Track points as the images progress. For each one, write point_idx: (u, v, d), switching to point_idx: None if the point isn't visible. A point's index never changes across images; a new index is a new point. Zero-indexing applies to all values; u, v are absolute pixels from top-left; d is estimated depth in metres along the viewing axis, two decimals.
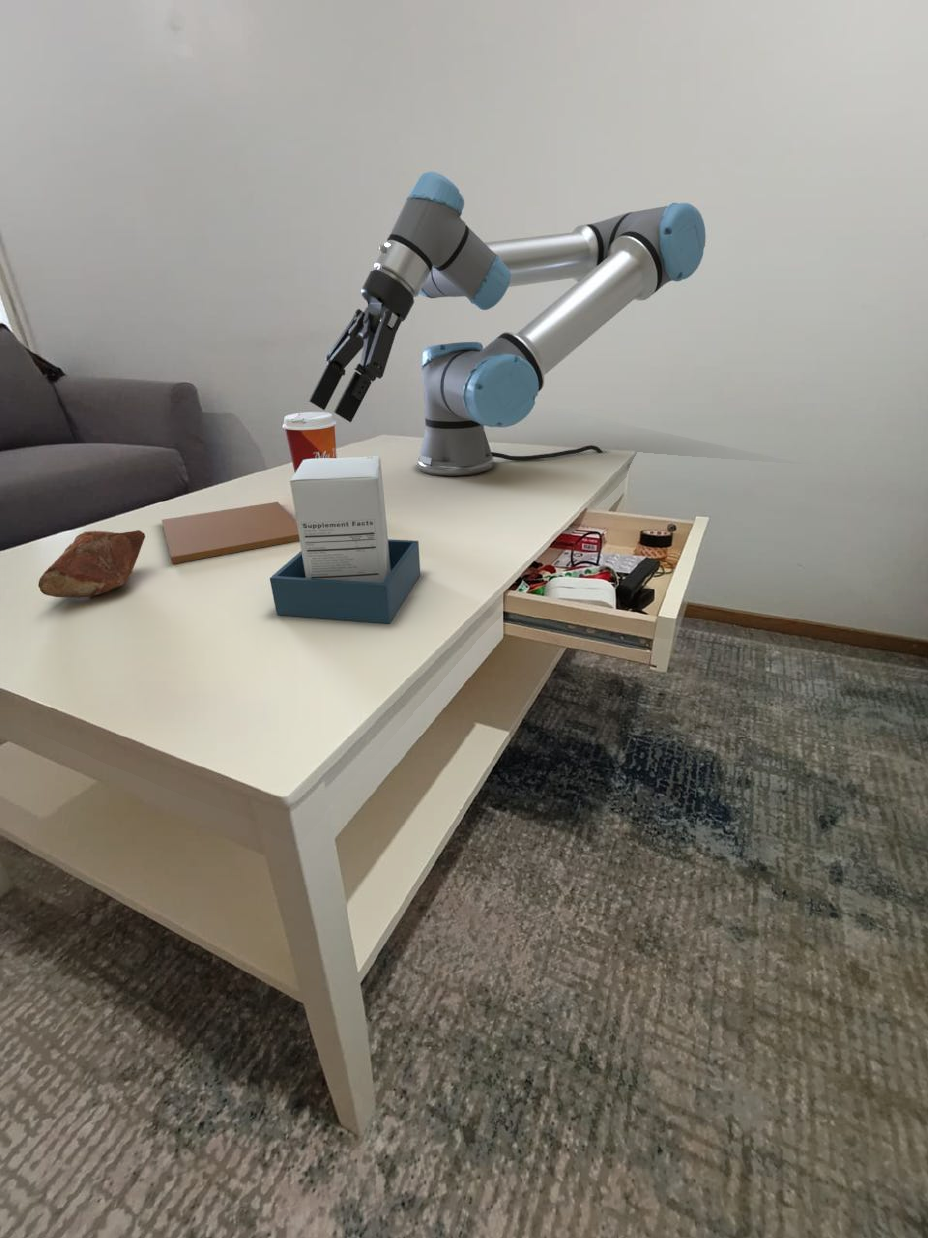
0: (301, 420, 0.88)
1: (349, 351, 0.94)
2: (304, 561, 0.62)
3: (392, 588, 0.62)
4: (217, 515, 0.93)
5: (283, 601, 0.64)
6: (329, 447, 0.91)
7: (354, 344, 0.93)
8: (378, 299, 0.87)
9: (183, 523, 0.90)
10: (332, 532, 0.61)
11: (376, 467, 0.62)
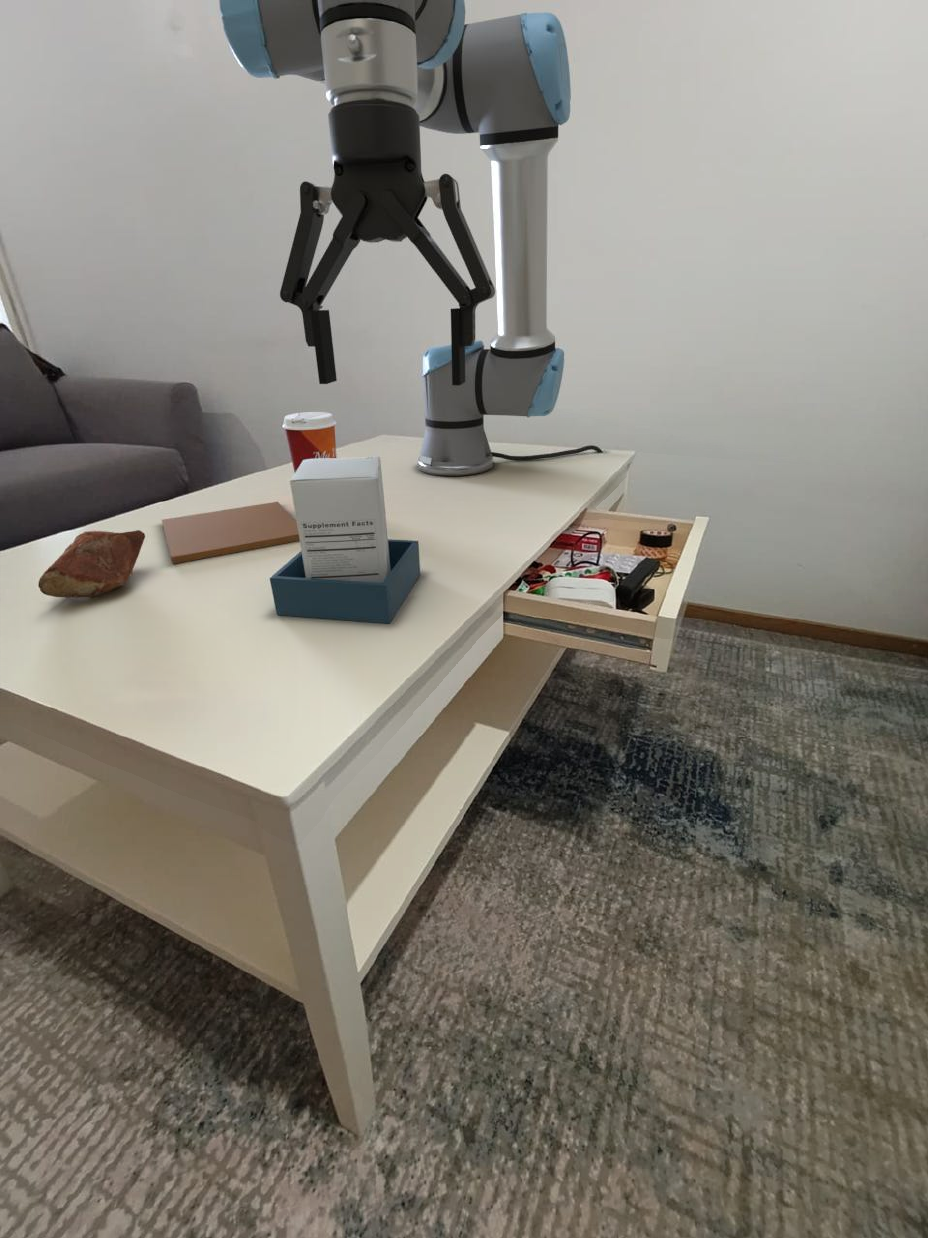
0: (301, 420, 0.88)
1: (337, 268, 0.55)
2: (304, 561, 0.62)
3: (392, 588, 0.62)
4: (217, 515, 0.93)
5: (283, 601, 0.64)
6: (329, 447, 0.91)
7: (345, 253, 0.54)
8: None
9: (183, 523, 0.90)
10: (332, 532, 0.61)
11: (376, 467, 0.62)
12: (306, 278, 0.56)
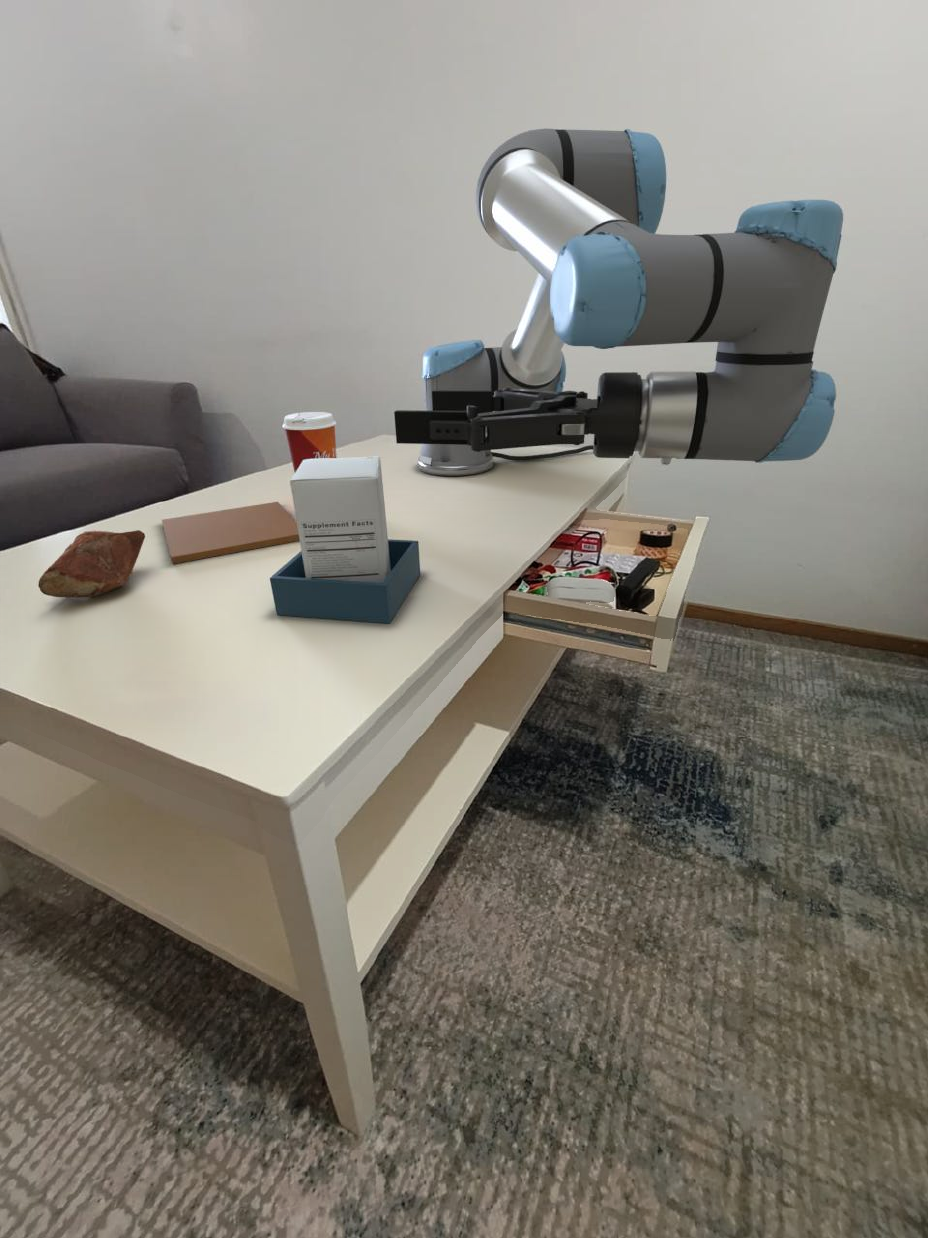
0: (301, 420, 0.88)
1: None
2: (304, 561, 0.62)
3: (392, 588, 0.62)
4: (217, 515, 0.93)
5: (283, 601, 0.64)
6: (329, 447, 0.91)
7: None
8: None
9: (183, 523, 0.90)
10: (332, 532, 0.61)
11: (376, 467, 0.62)
12: None
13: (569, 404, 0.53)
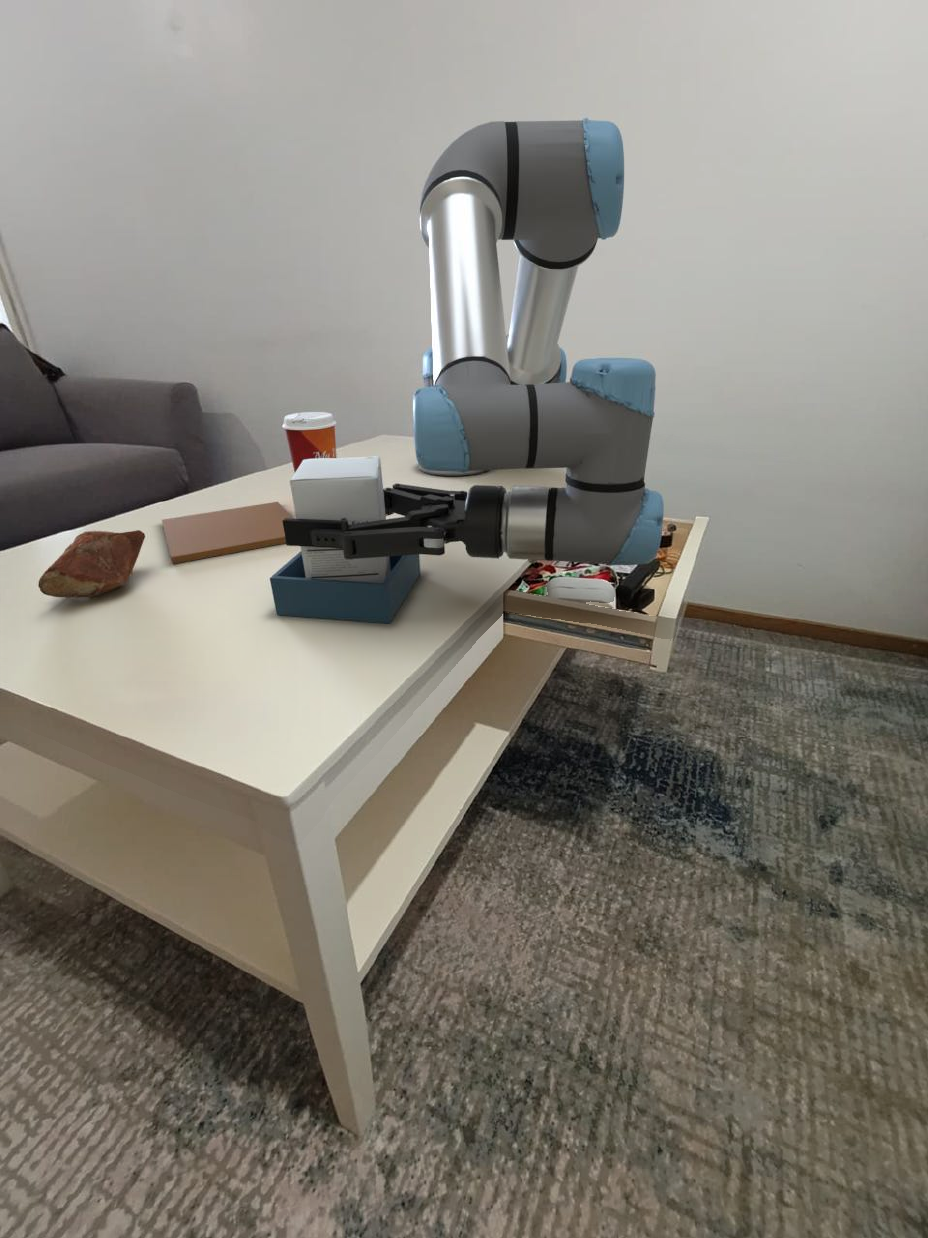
0: (301, 420, 0.88)
1: None
2: (304, 561, 0.62)
3: (392, 588, 0.62)
4: (217, 515, 0.93)
5: (283, 601, 0.64)
6: (329, 447, 0.91)
7: None
8: None
9: (183, 523, 0.90)
10: None
11: (376, 467, 0.62)
12: None
13: (441, 514, 0.60)
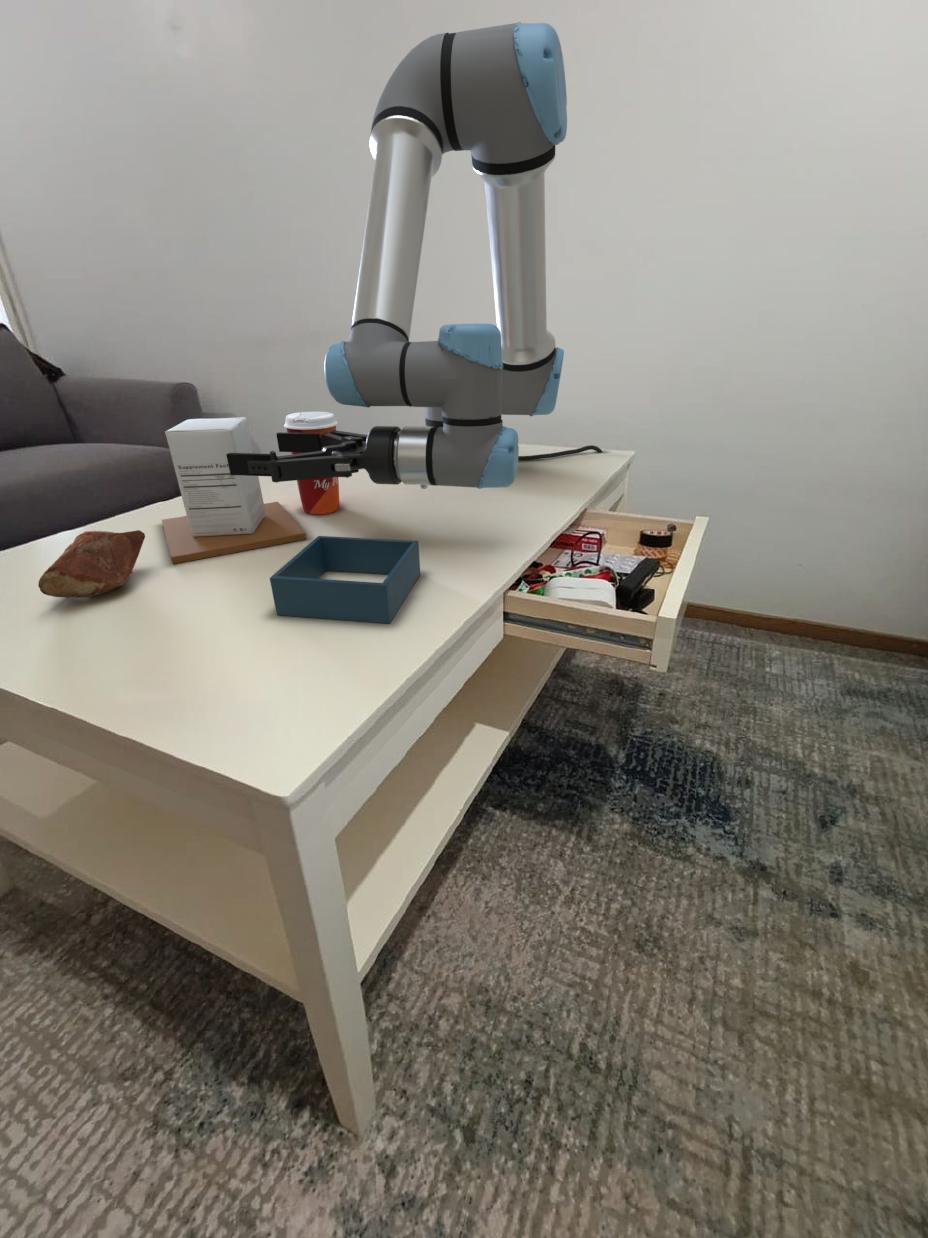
0: (303, 419, 0.88)
1: None
2: (182, 495, 0.81)
3: (392, 588, 0.62)
4: None
5: (283, 601, 0.64)
6: None
7: None
8: None
9: (183, 523, 0.90)
10: (201, 472, 0.80)
11: (236, 423, 0.81)
12: None
13: (350, 448, 0.77)
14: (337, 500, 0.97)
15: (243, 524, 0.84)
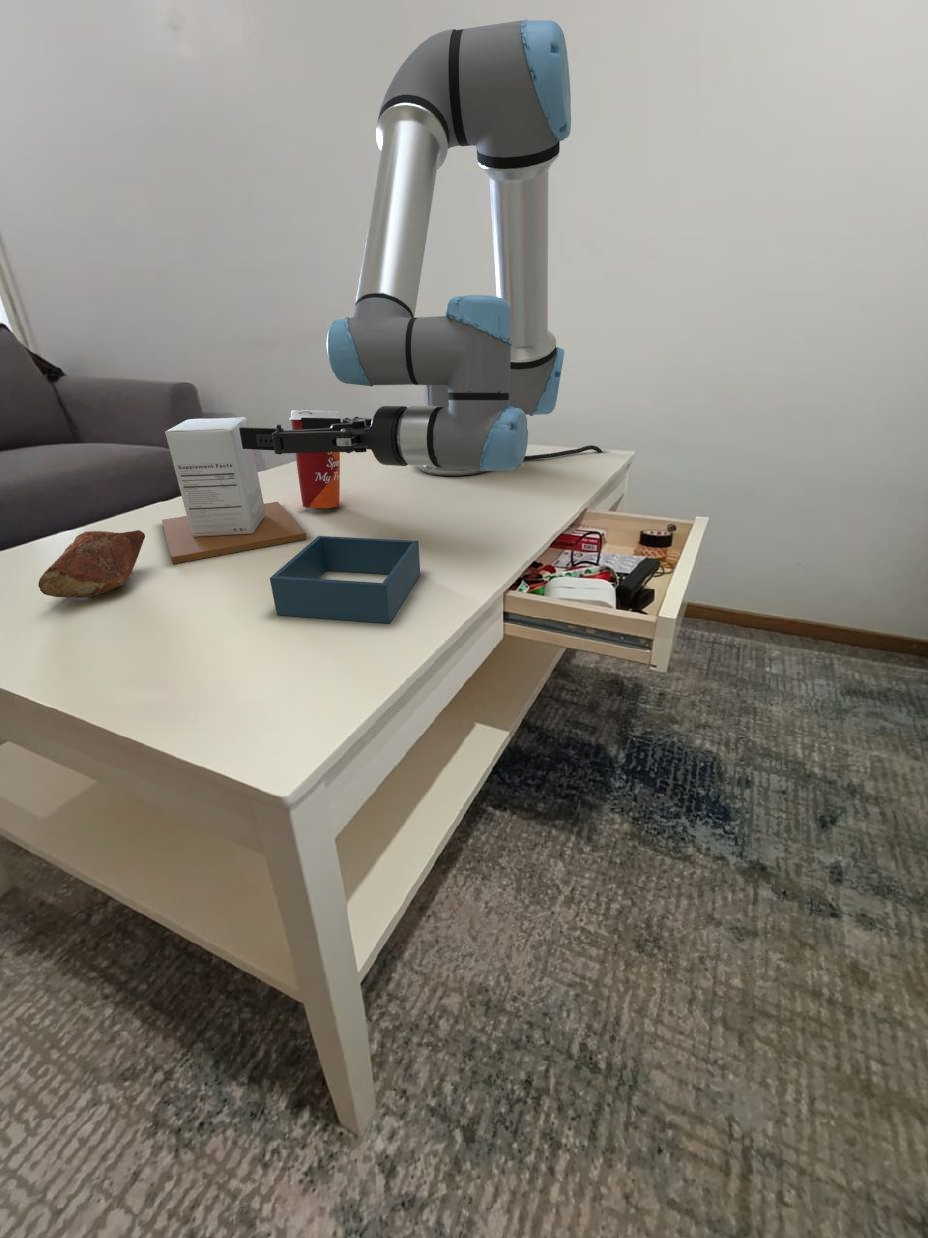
0: (308, 411, 0.90)
1: None
2: (182, 495, 0.81)
3: (392, 588, 0.62)
4: None
5: (283, 601, 0.64)
6: None
7: None
8: None
9: (183, 523, 0.90)
10: (201, 472, 0.80)
11: (236, 423, 0.81)
12: None
13: (357, 426, 0.77)
14: (337, 496, 0.97)
15: (243, 524, 0.84)
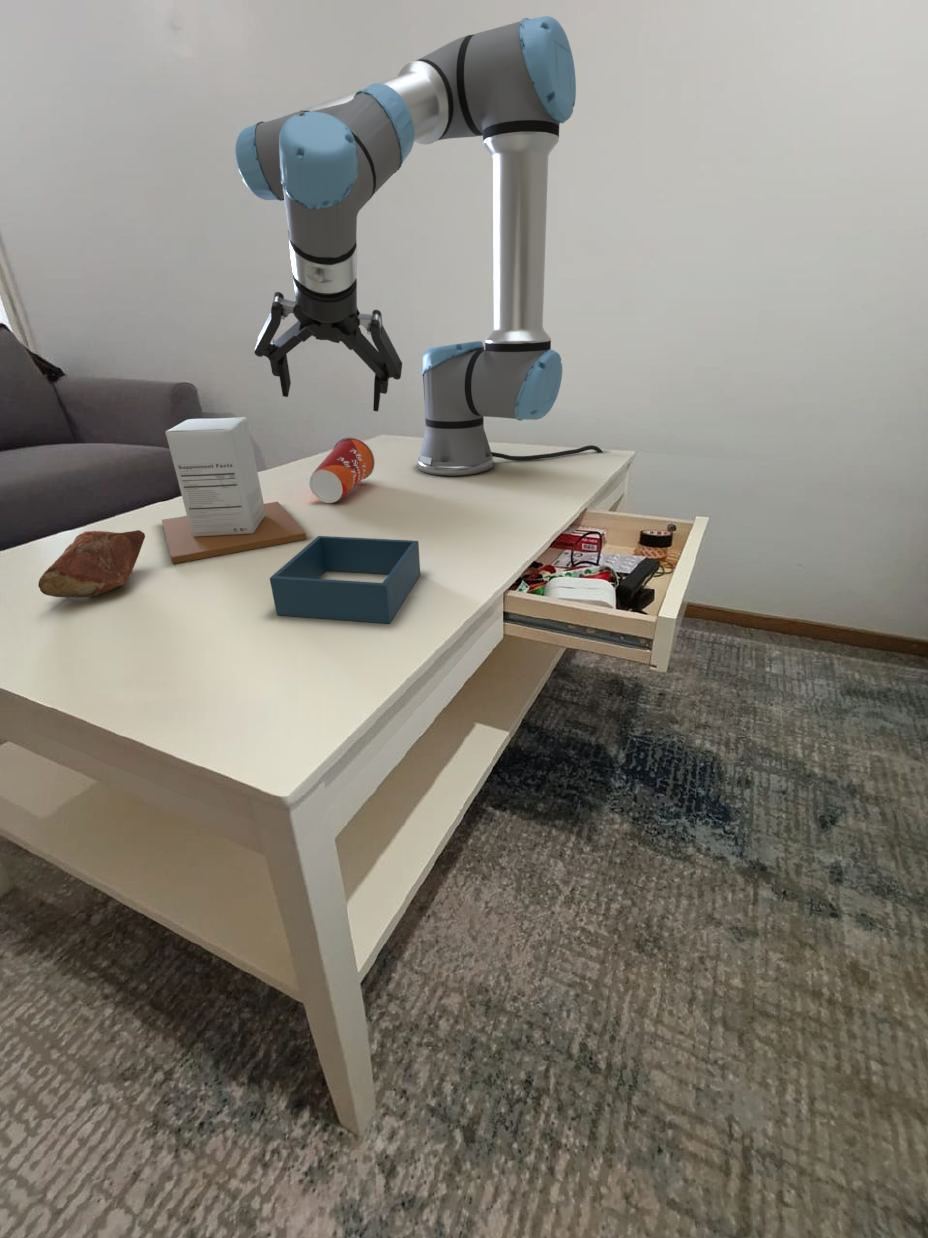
0: None
1: None
2: (182, 495, 0.81)
3: (392, 588, 0.62)
4: None
5: (283, 601, 0.64)
6: (364, 459, 1.06)
7: None
8: None
9: (183, 523, 0.90)
10: (201, 472, 0.80)
11: (236, 423, 0.81)
12: None
13: None
14: (346, 483, 1.00)
15: (243, 524, 0.84)
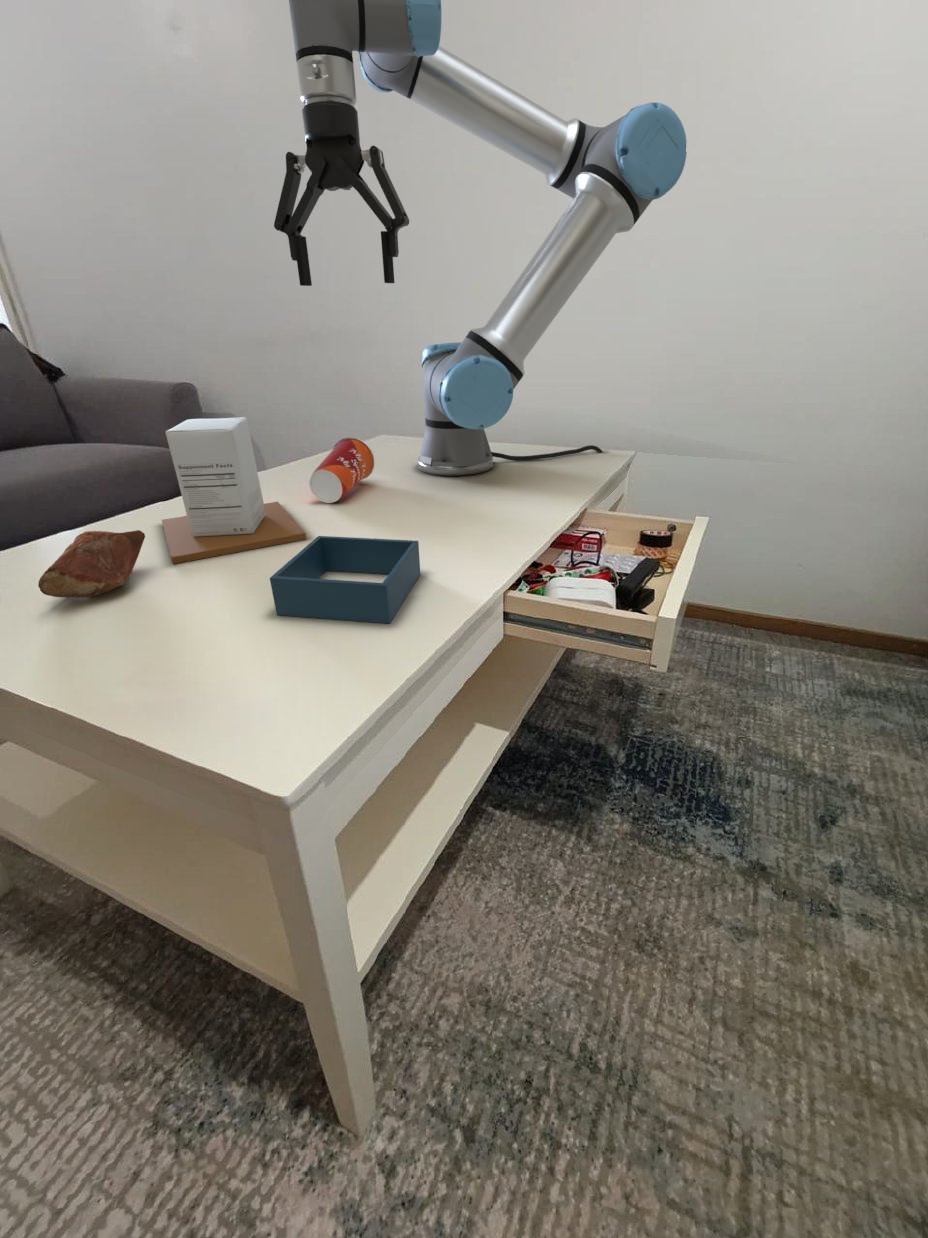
0: None
1: (310, 208, 0.87)
2: (182, 495, 0.81)
3: (392, 588, 0.62)
4: None
5: (283, 601, 0.64)
6: (364, 458, 1.06)
7: (315, 197, 0.86)
8: None
9: (183, 523, 0.90)
10: (201, 472, 0.80)
11: (236, 423, 0.81)
12: (290, 215, 0.88)
13: None
14: (346, 483, 1.00)
15: (243, 524, 0.84)
